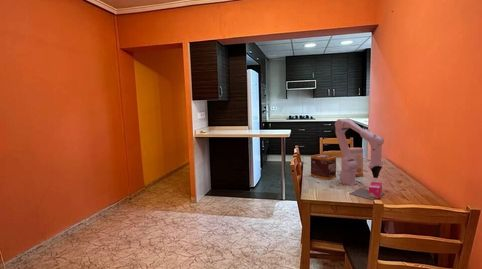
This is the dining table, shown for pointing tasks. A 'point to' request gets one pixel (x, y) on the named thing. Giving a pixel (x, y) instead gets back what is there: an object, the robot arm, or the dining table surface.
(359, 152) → the cracker box
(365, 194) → the mat
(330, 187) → the dining table surface
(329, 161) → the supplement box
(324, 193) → the dining table surface
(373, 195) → the supplement box
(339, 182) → the robot arm
